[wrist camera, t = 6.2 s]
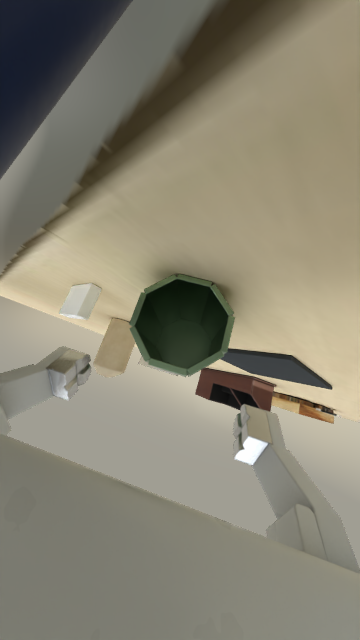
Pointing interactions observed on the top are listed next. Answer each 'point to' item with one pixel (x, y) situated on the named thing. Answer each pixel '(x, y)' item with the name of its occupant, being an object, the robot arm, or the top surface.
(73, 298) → the eraser
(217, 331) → the bucket
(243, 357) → the mat
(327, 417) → the wooden box
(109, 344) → the candle
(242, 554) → the robot arm
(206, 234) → the top surface
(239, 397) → the desk organizer
